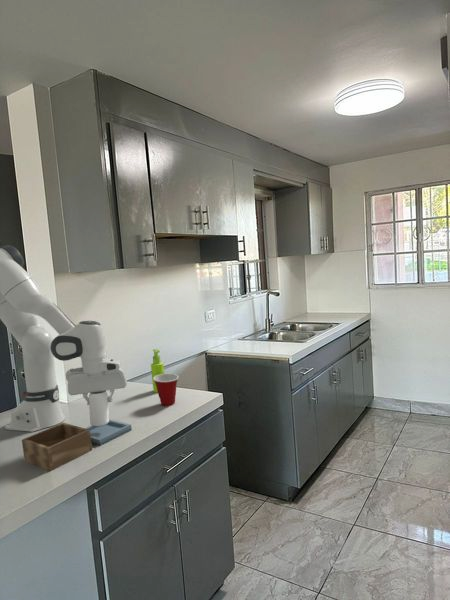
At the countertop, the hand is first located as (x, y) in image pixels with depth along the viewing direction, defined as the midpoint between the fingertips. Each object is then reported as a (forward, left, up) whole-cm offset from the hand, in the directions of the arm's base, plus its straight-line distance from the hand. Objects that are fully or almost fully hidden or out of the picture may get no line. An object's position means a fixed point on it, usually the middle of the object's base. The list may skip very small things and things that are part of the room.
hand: (100, 403), depth 147 cm
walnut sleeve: (-8, -16, -12) cm, 21 cm away
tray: (0, 0, -12) cm, 12 cm away
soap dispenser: (+5, +48, -12) cm, 50 cm away
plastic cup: (+15, +30, -12) cm, 36 cm away
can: (-1, 0, -8) cm, 8 cm away
